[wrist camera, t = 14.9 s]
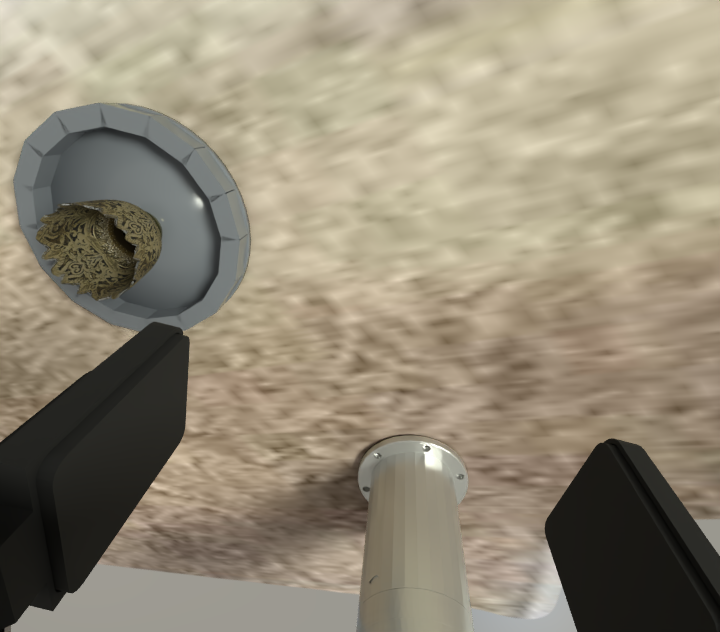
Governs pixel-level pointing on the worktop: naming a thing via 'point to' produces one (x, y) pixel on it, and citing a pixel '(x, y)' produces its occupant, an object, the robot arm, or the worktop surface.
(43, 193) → the round dish
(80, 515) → the robot arm
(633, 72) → the worktop surface
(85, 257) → the cup
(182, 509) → the worktop surface
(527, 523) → the worktop surface
